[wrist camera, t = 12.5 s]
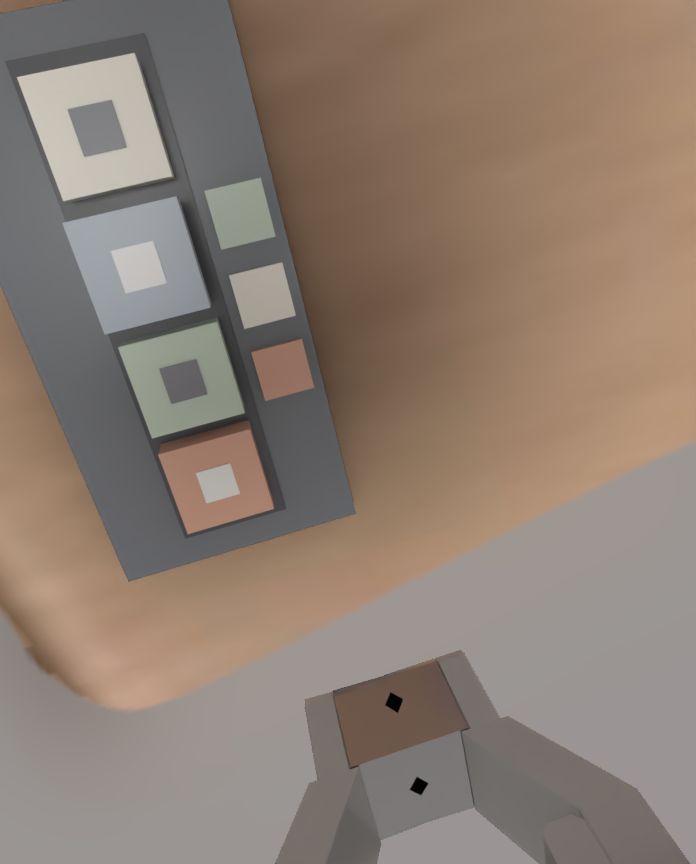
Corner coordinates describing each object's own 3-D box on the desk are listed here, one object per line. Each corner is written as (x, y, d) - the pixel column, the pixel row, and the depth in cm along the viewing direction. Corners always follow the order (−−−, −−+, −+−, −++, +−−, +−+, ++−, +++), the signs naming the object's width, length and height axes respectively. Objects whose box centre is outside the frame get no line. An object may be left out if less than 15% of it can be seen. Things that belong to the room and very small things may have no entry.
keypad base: (-92, 44, 22) (-112, 32, 21) (220, -18, 24) (220, -33, 22) (131, 568, 31) (127, 584, 30) (351, 503, 32) (357, 515, 31)
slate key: (71, 222, 23) (61, 223, 22) (179, 197, 23) (176, 196, 22) (110, 328, 24) (104, 334, 23) (211, 303, 25) (210, 308, 24)
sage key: (123, 341, 26) (117, 347, 25) (217, 316, 26) (217, 322, 25) (155, 428, 28) (151, 439, 26) (243, 404, 28) (244, 413, 27)
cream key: (28, 85, 22) (16, 76, 21) (139, 62, 23) (134, 52, 21) (71, 202, 24) (62, 201, 23) (175, 178, 24) (172, 175, 23)
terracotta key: (161, 443, 28) (157, 455, 26) (248, 419, 28) (249, 430, 27) (189, 520, 29) (187, 535, 28) (272, 496, 30) (274, 509, 28)
